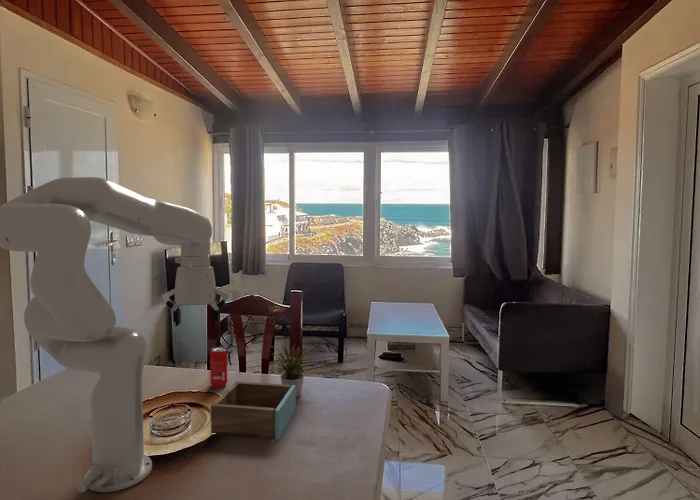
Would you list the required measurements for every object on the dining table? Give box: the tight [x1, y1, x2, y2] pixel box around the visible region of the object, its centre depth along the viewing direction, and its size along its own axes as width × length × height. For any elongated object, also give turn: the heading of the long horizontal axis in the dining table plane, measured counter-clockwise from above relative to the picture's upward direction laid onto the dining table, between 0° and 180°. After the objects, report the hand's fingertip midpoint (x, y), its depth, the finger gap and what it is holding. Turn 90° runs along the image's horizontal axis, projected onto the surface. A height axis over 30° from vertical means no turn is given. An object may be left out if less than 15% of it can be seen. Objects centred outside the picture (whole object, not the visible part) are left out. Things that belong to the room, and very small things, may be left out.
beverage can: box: [209, 346, 228, 389], centre depth 140 cm, size 5×5×12 cm
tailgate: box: [274, 385, 297, 441], centre depth 114 cm, size 16×1×7 cm, turn 172°
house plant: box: [270, 344, 313, 398], centre depth 133 cm, size 14×14×16 cm
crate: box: [210, 380, 291, 441], centre depth 115 cm, size 16×16×8 cm
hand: (196, 324), depth 118 cm, fingers open, 9 cm apart
